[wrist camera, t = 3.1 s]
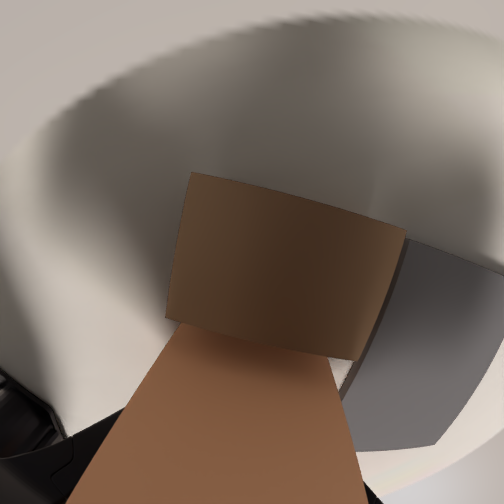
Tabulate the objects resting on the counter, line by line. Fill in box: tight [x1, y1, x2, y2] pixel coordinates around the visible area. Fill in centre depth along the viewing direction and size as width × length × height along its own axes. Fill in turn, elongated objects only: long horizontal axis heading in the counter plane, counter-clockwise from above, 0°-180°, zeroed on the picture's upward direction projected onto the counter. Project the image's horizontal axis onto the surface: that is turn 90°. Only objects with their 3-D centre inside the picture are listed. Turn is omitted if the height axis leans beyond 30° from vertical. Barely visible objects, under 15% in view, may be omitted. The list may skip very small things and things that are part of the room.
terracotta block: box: [65, 323, 368, 504], centre depth 6 cm, size 5×5×8 cm
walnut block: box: [165, 172, 407, 361], centre depth 7 cm, size 5×4×3 cm
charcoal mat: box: [339, 238, 504, 452], centre depth 9 cm, size 8×10×1 cm
